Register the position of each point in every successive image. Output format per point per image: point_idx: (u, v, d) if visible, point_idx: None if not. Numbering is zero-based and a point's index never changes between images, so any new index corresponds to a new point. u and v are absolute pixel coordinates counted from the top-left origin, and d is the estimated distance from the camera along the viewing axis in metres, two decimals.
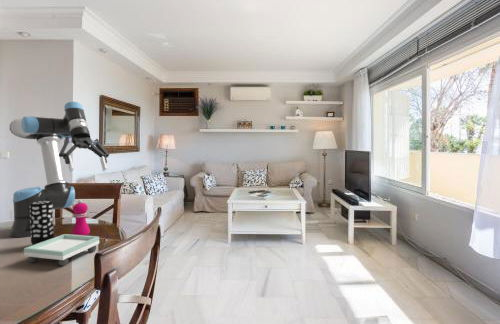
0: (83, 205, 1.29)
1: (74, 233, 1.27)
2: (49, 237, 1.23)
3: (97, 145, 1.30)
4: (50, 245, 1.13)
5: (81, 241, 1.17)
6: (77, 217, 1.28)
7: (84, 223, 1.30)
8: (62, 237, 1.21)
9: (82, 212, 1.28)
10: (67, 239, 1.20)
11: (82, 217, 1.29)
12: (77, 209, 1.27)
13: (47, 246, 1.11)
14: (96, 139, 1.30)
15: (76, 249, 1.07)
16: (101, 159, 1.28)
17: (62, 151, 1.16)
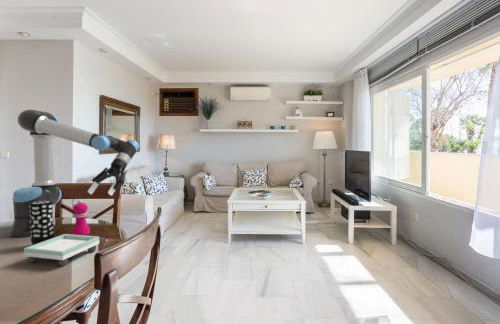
0: (83, 205, 1.29)
1: (74, 233, 1.27)
2: (49, 237, 1.23)
3: (104, 173, 1.50)
4: (50, 245, 1.13)
5: (81, 241, 1.17)
6: (77, 217, 1.28)
7: (84, 223, 1.30)
8: (62, 237, 1.21)
9: (82, 212, 1.28)
10: (67, 239, 1.20)
11: (82, 217, 1.29)
12: (77, 209, 1.27)
13: (47, 246, 1.11)
14: None
15: (76, 249, 1.07)
16: (96, 184, 1.46)
17: None
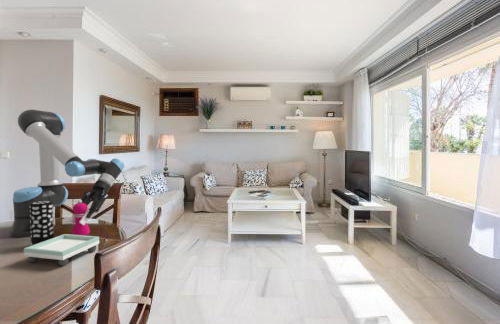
0: (83, 205, 1.29)
1: (74, 233, 1.27)
2: (49, 237, 1.23)
3: (86, 198, 1.39)
4: (50, 245, 1.13)
5: (81, 241, 1.17)
6: (77, 217, 1.28)
7: None
8: (62, 237, 1.21)
9: (82, 212, 1.28)
10: (67, 239, 1.20)
11: None
12: (77, 209, 1.27)
13: (47, 246, 1.11)
14: None
15: (76, 249, 1.07)
16: None
17: None
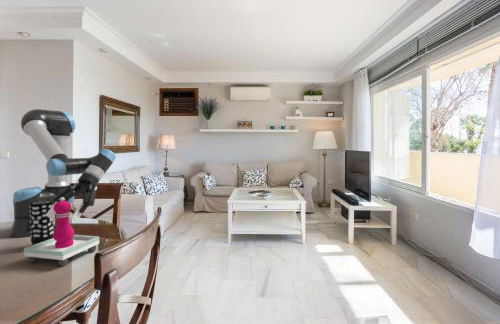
0: (65, 203, 1.11)
1: (55, 236, 1.09)
2: (49, 237, 1.23)
3: (70, 191, 1.21)
4: (50, 245, 1.13)
5: (81, 241, 1.17)
6: (59, 217, 1.10)
7: (67, 224, 1.11)
8: None
9: (64, 211, 1.10)
10: None
11: (65, 217, 1.10)
12: (58, 208, 1.09)
13: (47, 246, 1.11)
14: None
15: (76, 249, 1.07)
16: None
17: None
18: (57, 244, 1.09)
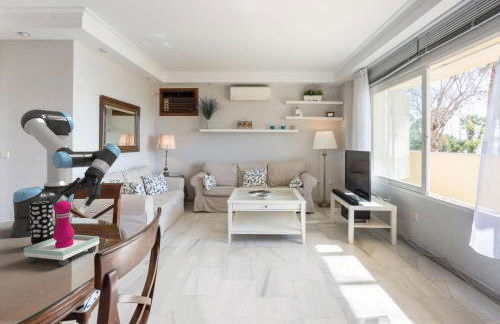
0: (66, 203, 1.10)
1: (55, 236, 1.09)
2: (49, 237, 1.23)
3: None
4: (50, 245, 1.13)
5: (81, 241, 1.17)
6: (59, 217, 1.10)
7: (67, 224, 1.11)
8: None
9: (65, 212, 1.10)
10: None
11: (65, 217, 1.10)
12: (58, 208, 1.08)
13: (47, 246, 1.11)
14: None
15: (76, 249, 1.07)
16: None
17: None
18: (57, 244, 1.09)
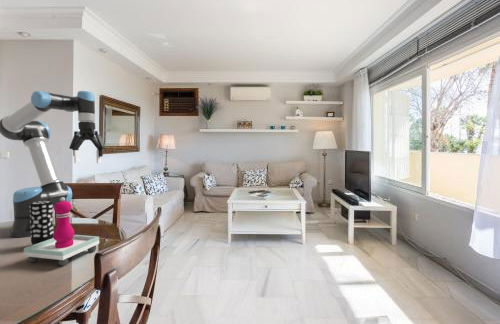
0: (66, 203, 1.11)
1: (55, 236, 1.09)
2: (49, 237, 1.23)
3: (77, 137, 1.44)
4: (50, 245, 1.13)
5: (81, 241, 1.17)
6: (59, 217, 1.10)
7: (67, 224, 1.11)
8: None
9: (65, 212, 1.10)
10: None
11: (65, 217, 1.10)
12: (59, 208, 1.09)
13: (47, 246, 1.11)
14: (79, 132, 1.44)
15: (76, 249, 1.07)
16: (77, 152, 1.44)
17: None
18: (57, 244, 1.09)
